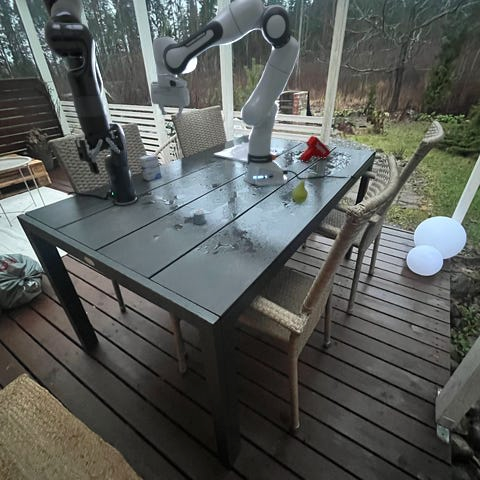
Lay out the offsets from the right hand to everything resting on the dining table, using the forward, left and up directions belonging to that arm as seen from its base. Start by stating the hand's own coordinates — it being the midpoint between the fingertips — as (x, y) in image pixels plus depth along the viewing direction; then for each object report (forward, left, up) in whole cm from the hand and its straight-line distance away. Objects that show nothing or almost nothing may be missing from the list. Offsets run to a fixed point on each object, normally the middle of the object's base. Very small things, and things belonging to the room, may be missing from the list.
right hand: (171, 115), depth 128 cm
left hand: (+9, +56, -8) cm, 57 cm away
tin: (-16, +46, -32) cm, 58 cm away
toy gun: (-80, -36, -32) cm, 93 cm away
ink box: (+16, -4, -32) cm, 36 cm away
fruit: (-59, +28, -32) cm, 73 cm away
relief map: (-36, -48, -32) cm, 68 cm away
